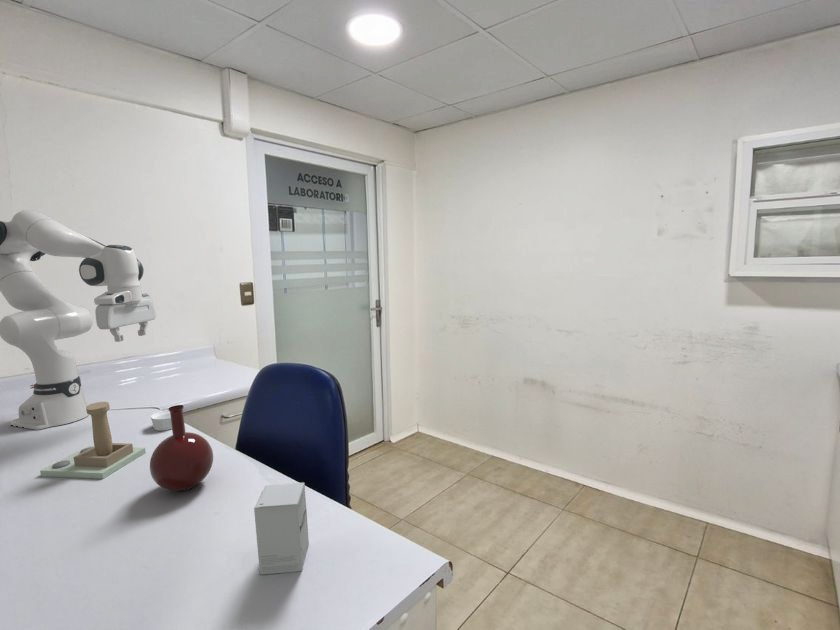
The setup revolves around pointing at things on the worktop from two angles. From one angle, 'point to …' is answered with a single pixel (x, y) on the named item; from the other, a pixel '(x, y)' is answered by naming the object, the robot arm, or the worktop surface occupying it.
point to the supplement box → (281, 528)
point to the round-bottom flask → (181, 457)
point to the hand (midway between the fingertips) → (131, 338)
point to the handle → (100, 428)
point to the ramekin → (161, 420)
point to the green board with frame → (93, 462)
